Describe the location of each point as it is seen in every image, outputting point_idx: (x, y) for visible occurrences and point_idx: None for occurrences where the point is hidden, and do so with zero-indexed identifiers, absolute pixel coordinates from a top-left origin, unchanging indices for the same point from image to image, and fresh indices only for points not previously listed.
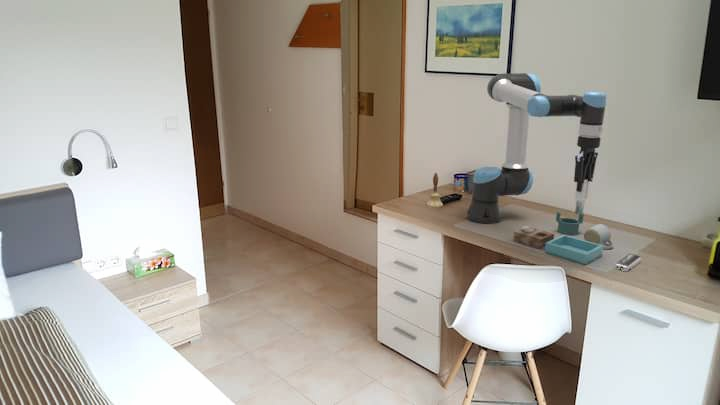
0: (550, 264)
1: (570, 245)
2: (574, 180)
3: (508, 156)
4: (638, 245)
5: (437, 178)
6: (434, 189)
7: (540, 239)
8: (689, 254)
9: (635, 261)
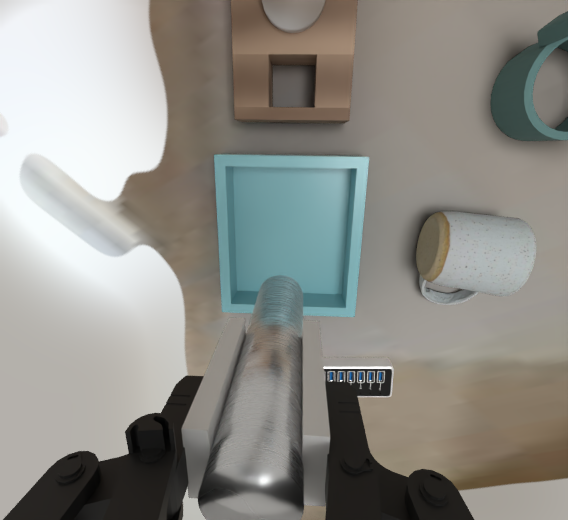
0: (144, 222)
1: (350, 194)
2: (55, 468)
3: None
4: (537, 344)
5: None
6: None
7: (234, 114)
8: (544, 456)
9: None
